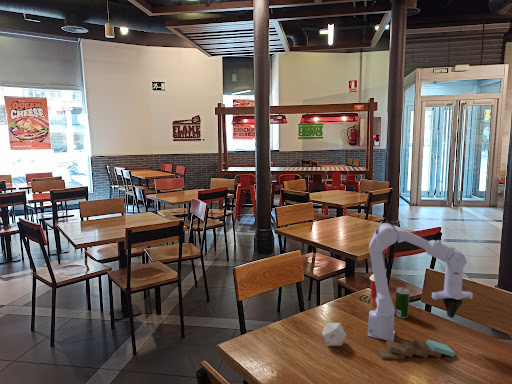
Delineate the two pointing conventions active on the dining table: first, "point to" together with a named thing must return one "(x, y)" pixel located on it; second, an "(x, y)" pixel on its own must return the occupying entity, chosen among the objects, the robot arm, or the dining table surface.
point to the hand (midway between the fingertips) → (450, 316)
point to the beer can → (402, 302)
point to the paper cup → (373, 291)
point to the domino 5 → (440, 348)
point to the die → (334, 334)
